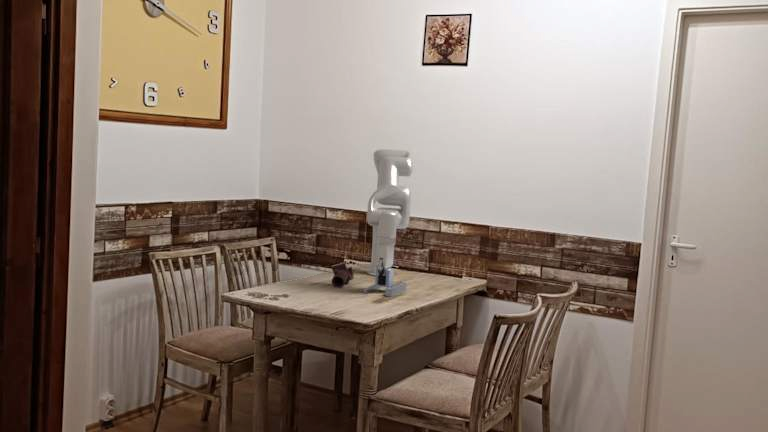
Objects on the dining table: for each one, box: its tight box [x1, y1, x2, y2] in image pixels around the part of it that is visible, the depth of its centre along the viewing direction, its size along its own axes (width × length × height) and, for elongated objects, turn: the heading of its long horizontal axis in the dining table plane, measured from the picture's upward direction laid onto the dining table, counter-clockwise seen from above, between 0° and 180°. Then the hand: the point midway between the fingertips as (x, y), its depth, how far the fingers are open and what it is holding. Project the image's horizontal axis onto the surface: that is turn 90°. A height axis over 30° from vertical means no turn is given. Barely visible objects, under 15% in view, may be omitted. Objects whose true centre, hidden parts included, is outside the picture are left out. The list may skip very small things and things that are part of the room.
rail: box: [363, 281, 407, 298], centre depth 325 cm, size 12×18×4 cm
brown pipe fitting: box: [331, 261, 355, 289], centre depth 334 cm, size 6×17×10 cm, turn 172°
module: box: [374, 268, 395, 288], centre depth 325 cm, size 6×5×7 cm
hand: (383, 283), depth 325 cm, fingers closed on module, 5 cm apart
